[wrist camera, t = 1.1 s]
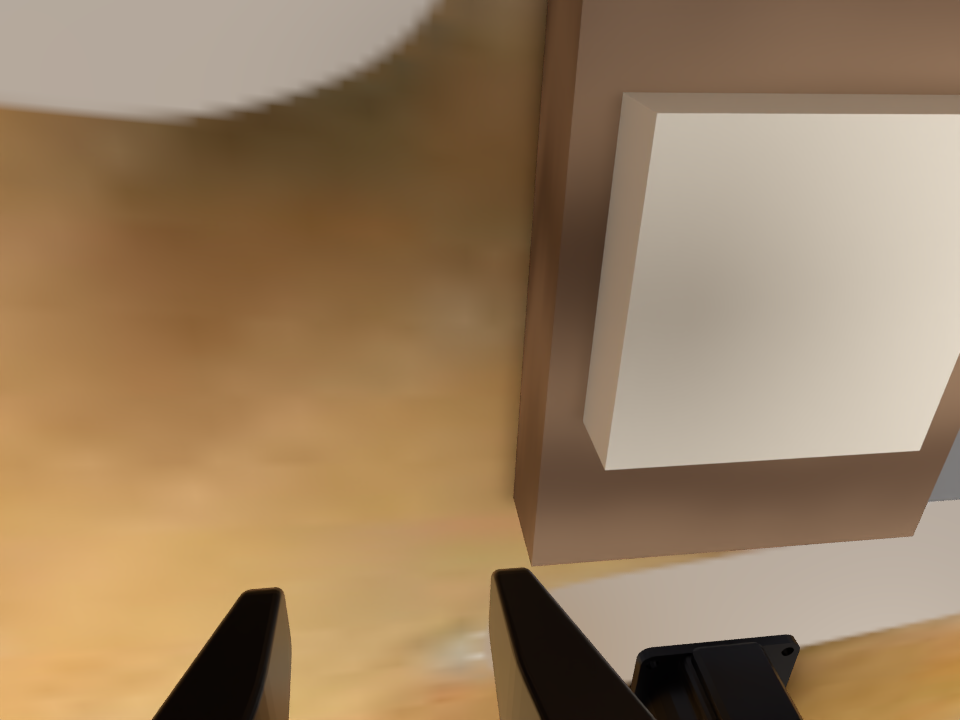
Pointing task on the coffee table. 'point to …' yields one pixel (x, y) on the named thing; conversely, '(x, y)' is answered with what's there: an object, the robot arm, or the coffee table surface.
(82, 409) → the coffee table surface
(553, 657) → the robot arm
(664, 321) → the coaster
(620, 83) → the walnut board
